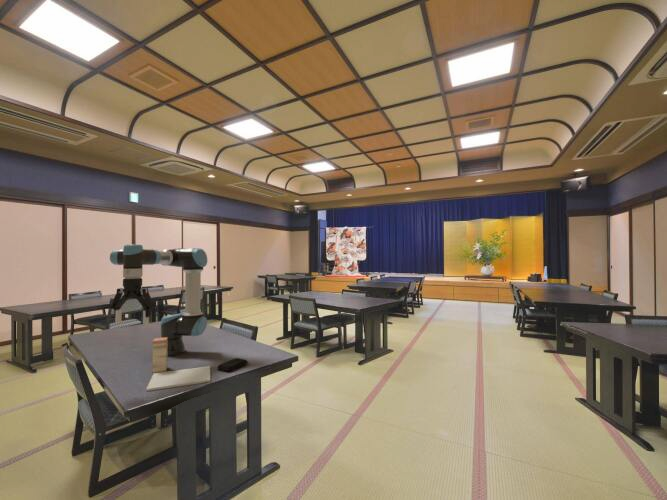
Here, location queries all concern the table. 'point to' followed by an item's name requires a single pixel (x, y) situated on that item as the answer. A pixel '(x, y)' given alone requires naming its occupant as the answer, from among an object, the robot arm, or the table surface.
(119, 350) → the table surface
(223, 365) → the carrying case or bag
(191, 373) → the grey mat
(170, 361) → the table surface
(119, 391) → the table surface
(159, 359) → the birch block
